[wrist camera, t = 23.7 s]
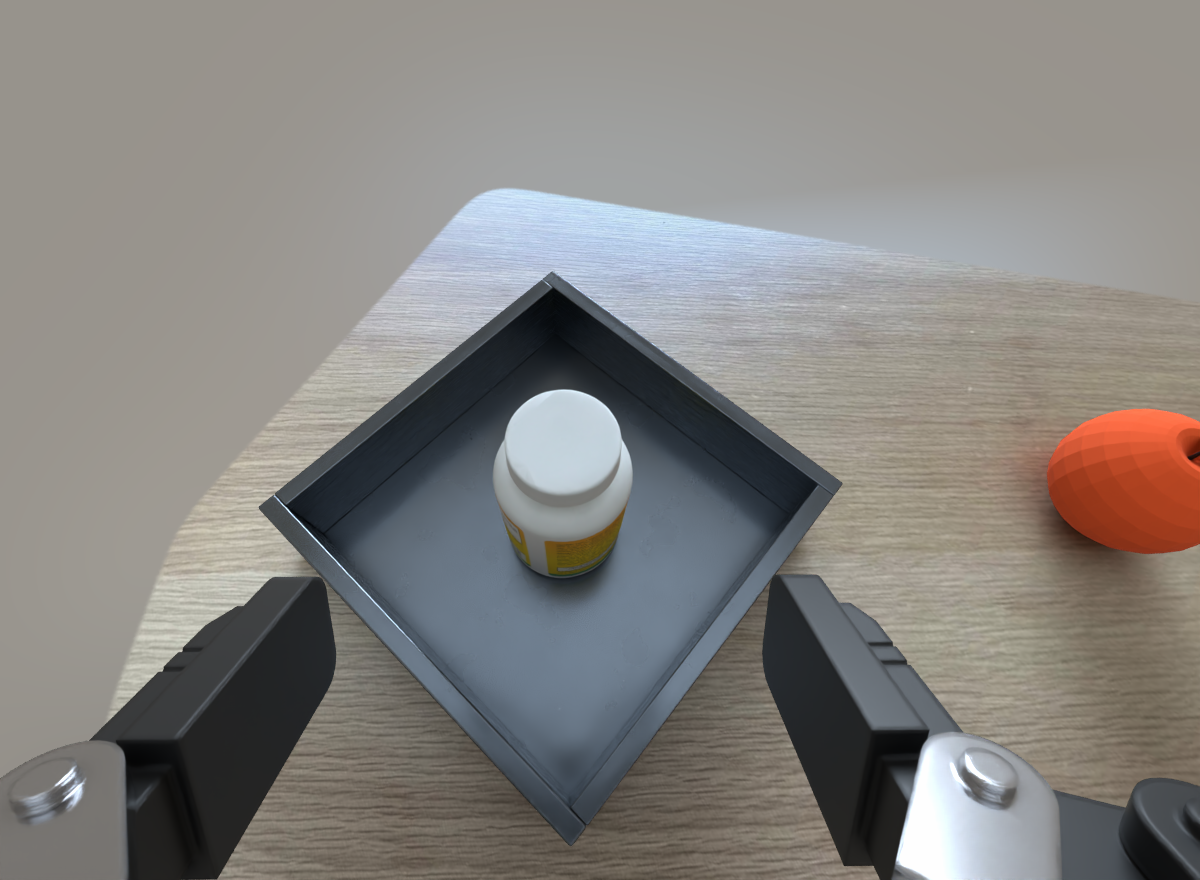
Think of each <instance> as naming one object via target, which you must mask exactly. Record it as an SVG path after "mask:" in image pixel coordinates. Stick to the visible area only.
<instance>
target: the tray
mask: <svg viewBox="0 0 1200 880" xmlns="http://www.w3.org/2000/svg"><path fill="white" fill-rule="evenodd" d="M554 390H574V391H579V392H583V393H585V394H588V395H590V396H592V397H594V398H596V399H597V400H599V401H600V402H602V403H603V404H604V405H605V406H606V407H607V408H608V409H609V410H610V411H611V413H612V414H613V416H614V417H615V419H616V420H617V423H618V425H619V428H620V432H621V439H622V441H623V442H624V444H625V446H626V448H627V450H628V452H629V455H630V459H631V463H632V471H633V478H632V487H631V492H630V496H629V499H628V502H627V506H626V509H625V513H624V517H623V521H622V524H621V528H620V531H619V534H618V537H617V540H616V543H615V545H614V547H613V549H612V551H611V553H610V554H609V555H608V557H607V558H606V559H605V560H604V561H603V562H602V563H601V564H600V565H598V566H597V567H596V568H594V569H593V570H591V571H589V572H586V573H584V574H581V575H578V576H574V577H569V578H554V577H550V576H545V575H543V574H540V573H538V572H536V571H534V570H532V569H531V568H529V567H528V566H527V565H526V564H525V563H524V562H523V561H522V560H521V559H520V558H519V557H518V555H517V554H516V553H515V551H514V549H513V547H512V545H511V542H510V539H509V537H508V533H507V531H506V527H505V524H504V521H503V518H502V514H501V511H500V508H499V505H498V502H497V498H496V495H495V490H494V484H493V468H494V462H495V459H496V455H497V452H498V450H499V448H500V446H501V444H502V442H503V441H504V440H505V433H506V429H507V426H508V424H509V422H510V420H511V418H512V416H513V415H514V413H515V412H516V411H517V410H518V409H519V408H520V407H521V406H522V405H523V404H524V403H525V402H527V401H528V400H529V399H531V398H533V397H535V396H536V395H539V394H541V393H544V392H548V391H554ZM841 486H842V482H841V481H839V480H838V479H836V478H835V477H834V476H832V475H831V474H830V473H828V472H827V471H826V470H824V469H823V468H821V467H820V466H819V465H817V464H816V463H815V462H813V461H812V460H811V459H809V458H808V457H806V456H805V455H804V454H802V453H801V452H800V451H798V450H797V449H795V448H794V447H793V446H791V445H790V444H789V443H787V442H786V441H785V440H783V439H782V438H780V437H779V436H778V435H776V434H775V433H774V432H772V431H771V430H770V429H768V428H767V427H765V426H764V425H763V424H761V423H760V422H759V421H757V420H756V419H755V418H753V417H752V416H750V415H749V414H748V413H746V412H745V411H744V410H742V409H741V408H740V407H738V406H737V405H735V404H734V403H733V402H731V401H730V400H729V399H727V398H726V397H724V396H723V395H722V394H720V393H719V392H718V391H716V390H715V389H714V388H712V387H711V386H709V385H708V384H707V383H705V382H704V381H703V380H701V379H700V378H699V377H697V376H696V375H694V374H693V373H692V372H690V371H689V370H688V369H686V368H685V367H684V366H682V365H681V364H679V363H678V362H677V361H675V360H674V359H673V358H671V357H670V356H669V355H667V354H666V353H664V352H663V351H662V350H660V349H659V348H658V347H656V346H655V345H654V344H652V343H651V342H649V341H648V340H647V339H645V338H644V337H643V336H641V335H640V334H638V333H637V332H636V331H634V330H633V329H632V328H630V327H629V326H628V325H626V324H625V323H623V322H622V321H621V320H619V319H618V318H617V317H615V316H614V315H613V314H611V313H610V312H608V311H607V310H606V309H604V308H603V307H602V306H600V305H599V304H598V303H596V302H595V301H593V300H592V299H591V298H589V297H588V296H587V295H585V294H584V293H583V292H581V291H580V290H578V289H577V288H576V287H574V286H573V285H572V284H570V283H569V282H567V281H566V280H565V279H563V278H562V277H561V276H559V275H558V274H557V273H555V272H554V271H552V272H551V273H550V274H548V275H547V276H546V277H545V278H543V280H541V281H540V282H539V283H537V284H536V285H535V286H534V287H532V288H531V289H530V290H529V291H527V292H526V293H525V294H524V295H522V296H521V297H520V298H519V299H517V300H516V301H515V302H514V303H512V304H511V305H510V306H509V307H507V308H506V309H505V310H504V311H502V312H501V313H500V314H499V315H497V316H496V317H495V318H494V319H492V320H491V321H490V322H489V323H487V324H486V325H485V326H484V327H482V328H481V329H480V330H479V331H477V332H476V333H475V334H474V335H472V336H471V337H470V338H469V339H467V340H466V341H465V342H464V343H462V344H461V345H460V346H459V347H457V348H456V349H455V350H454V351H452V352H451V353H450V354H449V355H447V356H446V357H445V358H444V359H442V360H441V361H440V362H439V363H437V364H436V365H435V366H434V367H432V368H431V369H430V370H429V371H427V372H426V373H425V374H424V375H422V376H421V377H420V378H419V379H417V380H416V381H415V382H414V383H412V384H411V385H410V386H409V387H407V388H406V389H405V390H404V391H402V392H401V393H400V394H399V395H397V396H396V397H395V398H394V399H392V400H391V401H390V402H389V403H387V404H386V405H385V406H384V407H382V408H381V409H380V410H379V411H377V412H376V413H375V414H374V415H372V416H371V417H370V418H369V419H367V420H366V421H365V422H364V423H362V424H361V425H360V426H359V427H357V428H356V429H355V430H354V431H352V432H351V433H350V434H349V435H347V436H346V437H345V438H344V439H342V440H341V441H340V442H339V443H337V444H336V445H335V446H334V447H332V448H331V449H330V450H329V451H327V452H326V453H325V454H324V455H322V456H321V457H320V458H319V459H317V460H316V461H315V462H314V463H312V464H311V465H310V466H309V467H307V468H306V469H305V470H304V471H302V472H301V473H300V474H299V475H297V476H296V477H295V478H294V479H292V480H291V481H290V482H289V483H287V484H286V485H285V486H284V487H282V488H281V489H280V490H279V491H277V492H276V493H275V495H276V496H275V495H273V496H272V497H270V498H269V499H268V500H267V501H265V502H264V503H263V504H262V505H260V506H259V509H260V511H261V512H262V513H263V514H264V515H265V516H266V517H267V518H268V519H269V520H270V521H271V523H272V524H273V525H274V526H275V527H276V528H277V529H278V530H279V531H280V532H281V533H282V534H283V536H284V537H285V538H286V539H287V540H288V541H289V542H290V543H291V544H292V545H293V546H294V547H295V549H296V550H297V551H298V552H299V553H300V554H301V555H302V556H303V557H304V558H305V559H306V561H307V562H308V563H309V564H310V565H311V566H312V567H313V568H314V569H315V570H316V571H317V572H318V574H319V575H320V576H321V577H322V578H323V579H324V580H325V581H326V582H327V583H328V584H329V585H330V587H331V588H332V589H333V590H334V591H335V592H336V593H337V594H338V595H339V596H340V597H341V599H342V600H343V601H344V602H345V603H346V604H347V605H348V606H349V607H350V608H351V609H352V610H353V612H354V613H355V614H356V615H357V616H358V617H359V618H360V619H361V620H362V621H363V622H364V623H365V625H366V626H367V627H368V628H369V629H370V630H371V631H372V632H373V633H374V634H375V635H376V637H377V638H378V639H379V640H380V641H381V642H382V643H383V644H384V645H385V646H386V647H387V648H388V650H389V651H390V652H391V653H392V654H393V655H394V656H395V657H396V658H397V659H398V660H399V661H400V663H401V664H402V665H403V666H404V667H405V668H406V669H407V670H408V671H409V672H410V673H411V675H412V676H413V677H414V678H415V679H416V680H417V681H418V682H419V683H420V684H421V685H422V686H423V688H424V689H425V690H426V691H427V692H428V693H429V694H430V695H431V696H432V697H433V698H434V699H435V701H436V702H437V703H438V704H439V705H440V706H441V707H442V708H443V709H444V710H445V711H446V713H447V714H448V715H449V716H450V717H451V718H452V719H453V720H454V721H455V722H456V723H457V724H458V726H459V727H460V728H461V729H462V730H463V731H464V732H465V733H466V734H467V735H468V736H469V737H470V739H471V740H472V741H473V742H474V743H475V744H476V745H477V746H478V747H479V748H480V749H481V751H482V752H483V753H484V754H485V755H486V756H487V757H488V758H489V759H490V760H491V761H492V762H493V764H494V765H495V766H496V767H497V768H498V769H499V770H500V771H501V772H502V773H503V774H504V775H505V777H506V778H507V779H508V780H509V781H510V782H511V783H512V784H513V785H514V786H515V787H516V789H517V790H518V791H519V792H520V793H521V794H522V795H523V796H524V797H525V798H526V799H527V800H528V802H529V803H530V804H531V805H532V806H533V807H534V808H535V809H536V810H537V811H538V812H539V813H540V815H541V816H542V817H543V818H544V819H545V820H546V821H547V822H548V823H549V824H550V825H551V827H552V828H553V829H554V830H555V831H556V832H557V833H558V834H559V835H560V836H561V837H562V838H563V840H564V841H565V842H566V843H567V844H568V845H569V846H572V845H573V844H574V843H575V842H576V840H577V839H578V838H579V836H580V835H581V834H582V832H583V831H584V830H585V828H586V825H589V823H590V822H591V821H592V819H593V818H594V817H595V815H596V814H597V812H598V811H599V810H600V808H601V807H602V806H603V804H604V803H605V802H606V800H607V799H608V798H609V796H610V795H611V794H612V792H613V791H614V790H615V788H616V787H617V786H618V784H619V783H620V782H621V780H622V779H623V778H624V776H625V775H626V774H627V772H628V771H629V770H630V768H631V767H632V766H633V764H634V763H635V762H636V760H637V759H638V758H639V756H640V755H641V754H642V752H643V751H644V750H645V748H646V747H647V745H648V744H649V743H650V741H651V740H652V739H653V737H654V736H655V735H656V733H657V732H658V731H659V729H660V728H661V727H662V725H663V724H664V723H665V721H666V720H667V719H668V717H669V716H670V715H671V713H672V712H673V711H674V709H675V708H676V707H677V705H678V704H679V703H680V701H681V700H682V699H683V697H684V696H685V695H686V693H687V692H688V691H689V689H690V688H691V687H692V685H693V684H694V683H695V681H696V680H697V679H698V677H699V676H700V674H701V673H702V672H703V670H704V669H705V668H706V666H707V665H708V664H709V662H710V661H711V660H712V658H713V657H714V656H715V654H716V653H717V652H718V650H719V649H720V648H721V646H722V645H723V644H724V642H725V641H726V640H727V638H728V637H729V636H730V634H731V633H732V632H733V630H734V629H735V628H736V626H737V625H738V624H739V622H740V621H741V620H742V618H743V617H744V616H745V614H746V613H747V612H748V610H749V609H750V607H751V606H752V605H753V603H754V602H755V601H756V599H757V598H758V597H759V595H760V594H761V593H762V591H763V590H764V589H765V587H766V586H767V585H768V583H769V582H770V581H771V579H772V578H773V576H774V575H775V574H776V573H777V571H778V570H779V569H780V567H781V566H782V565H783V563H784V562H785V561H786V559H787V558H788V557H789V555H790V554H791V553H792V551H793V550H794V549H795V547H796V546H797V545H798V543H799V542H800V540H801V539H802V538H803V536H804V535H805V534H806V532H807V531H808V530H809V528H810V527H811V526H812V524H813V523H814V522H815V520H816V519H817V518H818V516H819V515H820V514H821V512H822V511H823V510H824V508H825V507H826V506H827V504H828V503H829V502H830V500H831V499H832V498H833V496H834V495H835V494H836V492H837V491H838V490H839V488H840V487H841Z"/></svg>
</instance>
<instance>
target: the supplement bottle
mask: <svg viewBox="0 0 1200 880" xmlns="http://www.w3.org/2000/svg"><path fill="white" fill-rule="evenodd" d="M632 478H633V471H632V463H631V459H630V455H629V452H628V450H627V448H626V446H625V444H624V442H623V441H622V439H621V432H620V428H619V425H618V423H617V420H616V419H615V417H614V416H613V414H612V413H611V411H610V410H609V409H608V408H607V407H606V406H605V405H604V404H603V403H602V402H600V401H599V400H597V399H596V398H594V397H592V396H590V395H588V394H585V393H583V392H579V391H574V390H554V391H548V392H544V393H541V394H539V395H536V396H535V397H533V398H531V399H529V400H528V401H527V402H525V403H524V404H523V405H522V406H521V407H520V408H519V409H518V410H517V411H516V412H515V413H514V415H513V416H512V418H511V420H510V422H509V424H508V426H507V429H506V433H505V440H504V441H503V442H502V444H501V446H500V448H499V450H498V452H497V455H496V459H495V462H494V468H493V484H494V490H495V495H496V498H497V502H498V505H499V508H500V511H501V514H502V518H503V521H504V524H505V527H506V531H507V533H508V537H509V539H510V542H511V545H512V547H513V549H514V551H515V553H516V554H517V555H518V557H519V558H520V559H521V560H522V561H523V562H524V563H525V564H526V565H527V566H528V567H529V568H531V569H532V570H534V571H536V572H538V573H540V574H543V575H545V576H550V577H554V578H569V577H574V576H578V575H581V574H584V573H586V572H589V571H591V570H593V569H594V568H596V567H597V566H598V565H600V564H601V563H602V562H603V561H604V560H605V559H606V558H607V557H608V555H609V554H610V553H611V551H612V549H613V547H614V545H615V543H616V540H617V537H618V534H619V531H620V528H621V524H622V521H623V517H624V513H625V509H626V506H627V502H628V499H629V496H630V492H631V487H632Z"/></svg>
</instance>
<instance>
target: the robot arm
mask: <svg viewBox="0 0 1200 880" xmlns="http://www.w3.org/2000/svg"><path fill="white" fill-rule="evenodd" d="M762 655H763V667H764V673H765V677H766V681H767V683H768V686H769V688H770V691H771V693H772V696H773V698H774V700H775V703H776V705H777V708H778V710H779V712H780V715H781V717H782V719H783V722H784V724H785V727H786V729H787V731H788V734H789V736H790V738H791V741H792V743H793V746H794V748H795V750H796V753H797V755H798V757H799V760H800V762H801V765H802V767H803V769H804V772H805V774H806V777H807V779H808V781H809V784H810V786H811V788H812V791H813V793H814V796H815V798H816V800H817V803H818V805H819V807H820V810H821V812H822V815H823V817H824V819H825V822H826V824H827V826H828V829H829V831H830V834H831V836H832V838H833V841H834V843H835V845H836V848H837V850H838V853H839V855H840V857H841V860H842V862H843V865H844V866H874V868H875V870H876V872H877V874H878V876H879V878H880V880H1200V787H1199V786H1197V785H1193V784H1190V783H1187V782H1183V781H1179V780H1174V779H1167V778H1149V779H1145V780H1142V781H1141V782H1139V783H1137V785H1136V786H1135V787H1134V789H1133V791H1132V794H1131V796H1130V799H1129V801H1128V804H1127V806H1126V808H1124V807H1120V806H1116V805H1112V804H1108V803H1104V802H1100V801H1096V800H1092V799H1088V798H1084V797H1080V796H1076V795H1072V794H1067V793H1063V792H1059V791H1055V790H1052V789H1051V787H1050V786H1049V784H1048V783H1047V782H1046V780H1045V779H1044V778H1043V777H1042V776H1041V774H1039V773H1038V772H1037V771H1036V770H1035V769H1034V768H1033V767H1032V766H1031V765H1030V764H1029V763H1027V762H1026V761H1025V760H1024V759H1022V758H1021V757H1019V756H1018V755H1016V754H1015V753H1013V752H1012V751H1010V750H1008V749H1007V748H1005V747H1003V746H1001V745H999V744H997V743H995V742H993V741H990V740H988V739H985V738H982V737H979V736H975V735H972V734H967V733H963V731H962V730H961V729H960V728H959V726H958V725H957V724H956V722H955V721H954V720H953V719H952V717H951V716H950V715H949V714H948V712H947V711H946V710H945V708H944V707H943V706H942V705H941V703H940V702H939V701H938V699H937V698H936V697H935V696H934V694H933V693H932V692H931V691H930V689H929V688H928V687H927V685H926V684H925V683H924V682H923V680H922V679H921V678H920V677H919V675H918V674H917V673H916V671H915V670H914V669H913V668H912V666H911V665H907V660H906V659H905V657H904V656H903V655H902V654H901V652H900V651H899V650H898V648H897V647H893V642H892V641H891V640H890V638H889V637H888V636H887V634H886V633H885V632H884V631H883V629H882V628H881V627H880V625H879V624H878V623H877V622H876V621H875V620H874V619H873V618H871V617H870V616H868V615H867V614H865V613H864V612H863V611H861V610H860V609H858V608H857V607H855V606H854V605H853V604H851V603H839V602H838V601H837V600H836V598H835V597H834V595H833V594H832V593H831V591H830V590H829V588H828V587H827V586H826V584H825V583H824V581H823V580H822V579H821V578H820V577H819V576H818V575H775V576H773V578H772V580H771V584H770V590H769V598H768V606H767V615H766V623H765V631H764V639H763V650H762ZM335 664H336V648H335V642H334V635H333V629H332V623H331V616H330V610H329V604H328V597H327V591H326V586H325V584H324V582H323V580H322V579H321V578H319V577H273V578H271V579H270V580H268V581H267V582H266V583H265V584H264V585H263V587H262V588H261V589H260V590H259V591H258V592H257V593H256V594H255V595H254V596H253V597H252V598H251V599H250V600H249V601H248V602H247V603H246V604H245V605H244V606H237V607H235V608H234V609H232V610H230V611H229V612H227V613H225V614H224V615H222V616H220V617H219V618H217V619H215V620H214V621H212V622H210V623H209V624H207V625H205V626H204V627H203V628H202V629H201V630H200V631H199V632H198V633H197V634H196V635H195V636H194V637H193V638H192V639H191V640H190V641H189V642H188V643H187V644H186V645H185V646H184V647H183V651H182V652H178V653H177V654H176V655H175V656H174V657H173V658H172V659H171V660H170V661H169V662H168V663H167V664H166V665H165V666H164V670H163V672H158V673H157V674H156V675H155V676H154V677H153V678H152V679H151V680H150V681H149V682H148V683H147V684H146V685H145V686H144V687H143V688H142V689H141V690H140V691H139V692H138V693H137V694H136V695H135V696H134V697H133V698H132V699H131V700H130V701H129V702H128V703H127V704H126V705H125V706H124V707H123V708H122V709H121V710H120V711H119V712H118V713H117V714H116V715H114V716H113V717H112V718H111V719H110V720H109V721H108V722H107V723H106V724H105V725H104V726H103V727H102V728H101V729H100V730H99V731H98V732H97V734H95V735H94V736H93V737H92V738H91V739H90V740H89V741H85V742H78V743H74V744H70V745H66V746H63V747H60V748H57V749H54V750H51V751H49V752H46V753H44V754H42V755H40V756H37V757H35V758H33V759H31V760H29V761H27V762H25V763H23V764H22V765H20V766H18V767H17V768H15V769H13V770H12V771H10V772H9V773H7V774H6V775H5V776H3V777H1V778H0V880H206V879H217V878H218V877H219V875H220V873H221V872H222V870H223V868H224V866H225V865H226V863H227V861H228V860H229V858H230V856H231V854H232V853H233V851H234V849H235V848H236V846H237V844H238V843H239V841H240V839H241V837H242V836H243V834H244V832H245V831H246V829H247V827H248V825H249V824H250V822H251V820H252V819H253V817H254V815H255V813H256V812H257V810H258V808H259V807H260V805H261V803H262V801H263V800H264V798H265V796H266V795H267V793H268V791H269V790H270V788H271V786H272V784H273V783H274V781H275V779H276V778H277V776H278V774H279V772H280V771H281V769H282V767H283V766H284V764H285V762H286V760H287V759H288V757H289V755H290V754H291V752H292V750H293V748H294V747H295V745H296V743H297V742H298V740H299V738H300V737H301V735H302V733H303V731H304V730H305V728H306V726H307V725H308V723H309V721H310V719H311V718H312V716H313V714H314V713H315V711H316V709H317V707H318V706H319V704H320V702H321V701H322V699H323V697H324V695H325V694H326V692H327V690H328V688H329V686H330V684H331V682H332V679H333V675H334V671H335Z"/></svg>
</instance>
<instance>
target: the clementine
mask: <svg viewBox="0 0 1200 880" xmlns="http://www.w3.org/2000/svg"><path fill="white" fill-rule="evenodd" d="M1047 480H1048V488H1049V494H1050V497H1051V499H1052V502H1053V504H1054V506H1055V508H1056V509H1057V511H1058V512H1059V513H1060V515H1061V516H1062V518H1063V519H1064V520H1065V521H1066V522H1068V523H1069V524H1070V525H1071V526H1072V527H1073V528H1074V529H1076V530H1077V531H1078V532H1080V533H1081V534H1083V535H1084V536H1086V537H1088V538H1090V539H1092V540H1094V541H1096V542H1098V543H1101V544H1103V545H1105V546H1107V547H1110V548H1114V549H1118V550H1123V551H1128V552H1135V553H1142V554H1154V553H1167V552H1175V551H1182V550H1185V549H1187V548H1190V547H1193V546H1196V545H1198V544H1200V422H1198V421H1197V420H1194V419H1192V418H1189V417H1187V416H1184V415H1182V414H1177V413H1172V412H1166V411H1160V410H1153V409H1131V410H1123V411H1115V412H1111V413H1108V414H1105V415H1102V416H1099V417H1096V418H1094V419H1091V420H1089V421H1087V422H1084V423H1083V424H1081V425H1080V426H1079V427H1077V428H1076V429H1075V430H1073V431H1072V432H1071V433H1070V434H1068V435H1067V436H1066V437H1065V438H1064V439H1062V440H1061V442H1060V443H1059V445H1058V447H1057V449H1056V450H1055V452H1054V454H1053V456H1052V458H1051V459H1050V461H1049V466H1048V472H1047Z"/></svg>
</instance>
